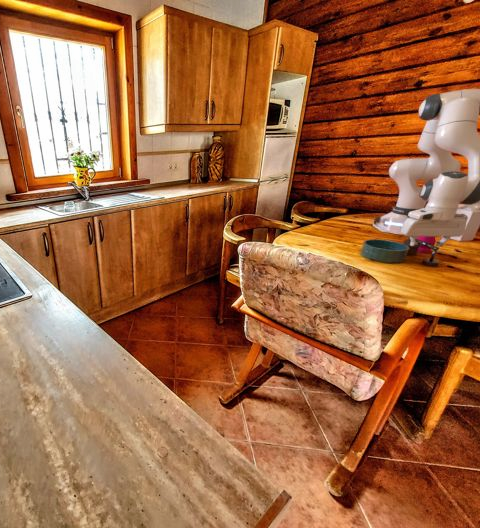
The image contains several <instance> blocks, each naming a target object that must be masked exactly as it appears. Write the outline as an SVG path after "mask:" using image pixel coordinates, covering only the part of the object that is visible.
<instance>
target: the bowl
mask: <svg viewBox="0 0 480 528" xmlns="http://www.w3.org/2000/svg"><path fill="white" fill-rule="evenodd" d="M408 250H409V247H408V246H406V245H404V244H403V243H402V242H398V241H393V240H387V239H366V240H364V241H363V243H362V247H361V250H360V254H361V256H362V257H364V258H366V259H368V260H371V261H374V262H378V263H383V264H399V263H403V262H405V261H406V258H407V257H408V256H407V253H408Z"/></svg>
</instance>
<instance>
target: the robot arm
mask: <svg viewBox="0 0 480 528" xmlns="http://www.w3.org/2000/svg"><path fill="white" fill-rule="evenodd" d="M418 118H419V119H420V120H422V121H426V123H425V125H424V127H423V130H422V132H421V135H420V138H419V140H418V143H417V149H418V150H419V151H421V152H423V153H425V154H427V155H429V157H426V158H421V157H419V158H405V159H404V158H403V159H398V160H396V161H394V162H392V164H391V166H390V167H389V170H388V176H389V178H391V180H393V181H394V182H395V183H396V184H397V186H398V197H397V200H396V205H392V206H391V208H392V209H391V212H388V213H387V214H384V215H382V216H378V217H376V218H374V220H373V223H372V226H373V227H374V228H376V229H377V230H378V231H379V232H381V233H388V234H394V235H400V236H401V235H402V236H405V237H409V238H410V241H411V243H410V245H411V246H417V244H418V242H416V241H415V239H417V237H418V236H434V237H435V238H436V237H437V238H438V237H439V238H440V237H441V239H440V240H439V241H436V242H435V246H436V247H444V246H445V243H447V242H448V241H450V240H451V239H450V237H460V236H461V235H463V234H464V231H465V227H466V222H467V219H468V217H467V215H465V214H456V211H457V209H458V208H459V205H471V204H474V203H477V202H479V201H480V134H479V132H478V123H479V118H480V88H467V89H460V90H453V91H448V92H443V93H439V92H438V93H433V94H430V95H428V96H427V97H425V99H424V100H423V101H422V102H421V104H420V106H419V108H418ZM452 153H455V154H458V155H460V156H462V157H464V158H465V159H466V160H467V168H468V169H467V173H466V172H463V171H461V167H462V166H461V162H460V161H459V160H458V159H457V158H456V157H454V156H453V154H452ZM421 181H422V182H424V183H423V184H422V185H421V186H419V185H417V182H421Z"/></svg>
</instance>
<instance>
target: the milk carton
mask: <svg viewBox="0 0 480 528" xmlns="http://www.w3.org/2000/svg"><path fill="white" fill-rule="evenodd" d="M456 214H465V215H467V217H468V219H467V222H466V227H465V231H464V234H463V235H461V236H460V237H450V239H449V240H453V241H458V242H468V241H474V239H475V236H476V235H477V233H478V231H479V228H480V201H479V202H477V203H474V204H471V205H466V204H463V205H462V206H458V209H457V211H456Z"/></svg>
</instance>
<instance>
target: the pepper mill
mask: <svg viewBox="0 0 480 528" xmlns="http://www.w3.org/2000/svg"><path fill="white" fill-rule="evenodd" d="M417 239H419V240H422V241H424V242H427V243H429V244H431V245H434V246H436V243H437V241H436V237H434V236H418V237H417ZM431 250H432V249H430V248H428V247H425V246H423V245H421V244H420V246H419V249H418V252H417V254H418V253H420V254H430V253H431Z"/></svg>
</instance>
